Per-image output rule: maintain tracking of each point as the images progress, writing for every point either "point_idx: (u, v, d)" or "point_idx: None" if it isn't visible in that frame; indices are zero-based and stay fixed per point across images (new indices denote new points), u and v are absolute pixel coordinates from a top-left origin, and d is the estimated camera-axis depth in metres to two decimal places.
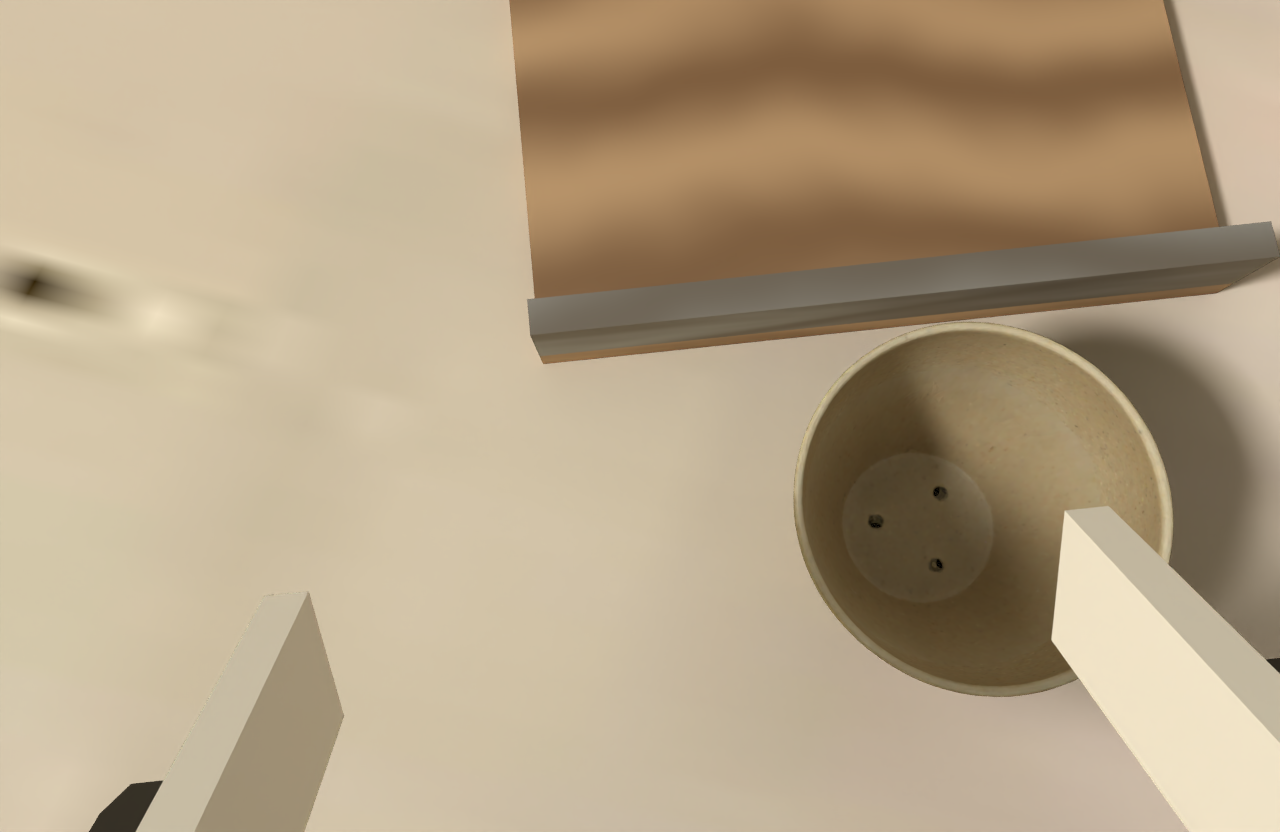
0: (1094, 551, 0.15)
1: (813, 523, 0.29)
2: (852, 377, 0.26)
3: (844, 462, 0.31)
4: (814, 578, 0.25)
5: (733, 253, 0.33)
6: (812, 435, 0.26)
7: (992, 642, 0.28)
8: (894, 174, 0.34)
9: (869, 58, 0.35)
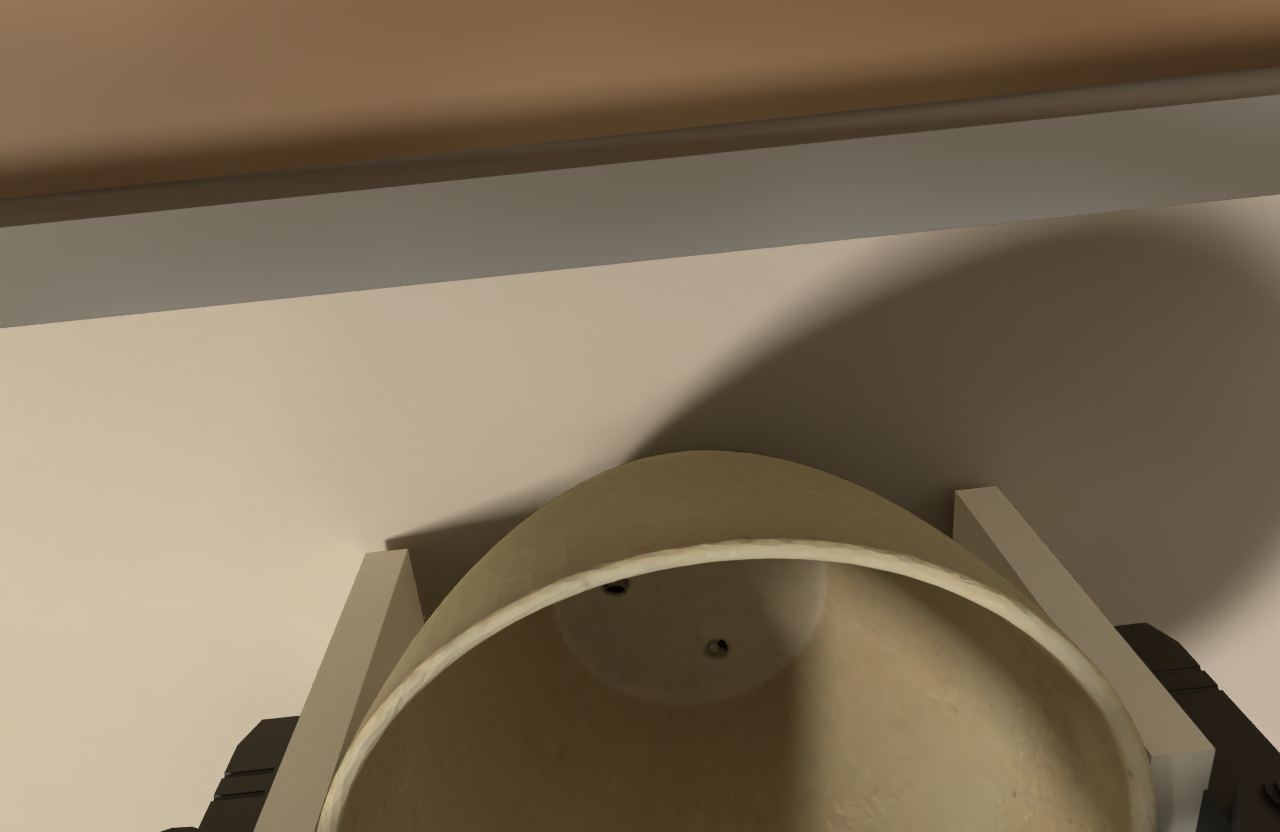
0: (976, 527, 0.16)
1: (453, 712, 0.15)
2: (445, 666, 0.10)
3: None
4: None
5: (273, 32, 0.13)
6: (345, 799, 0.10)
7: None
8: None
9: None
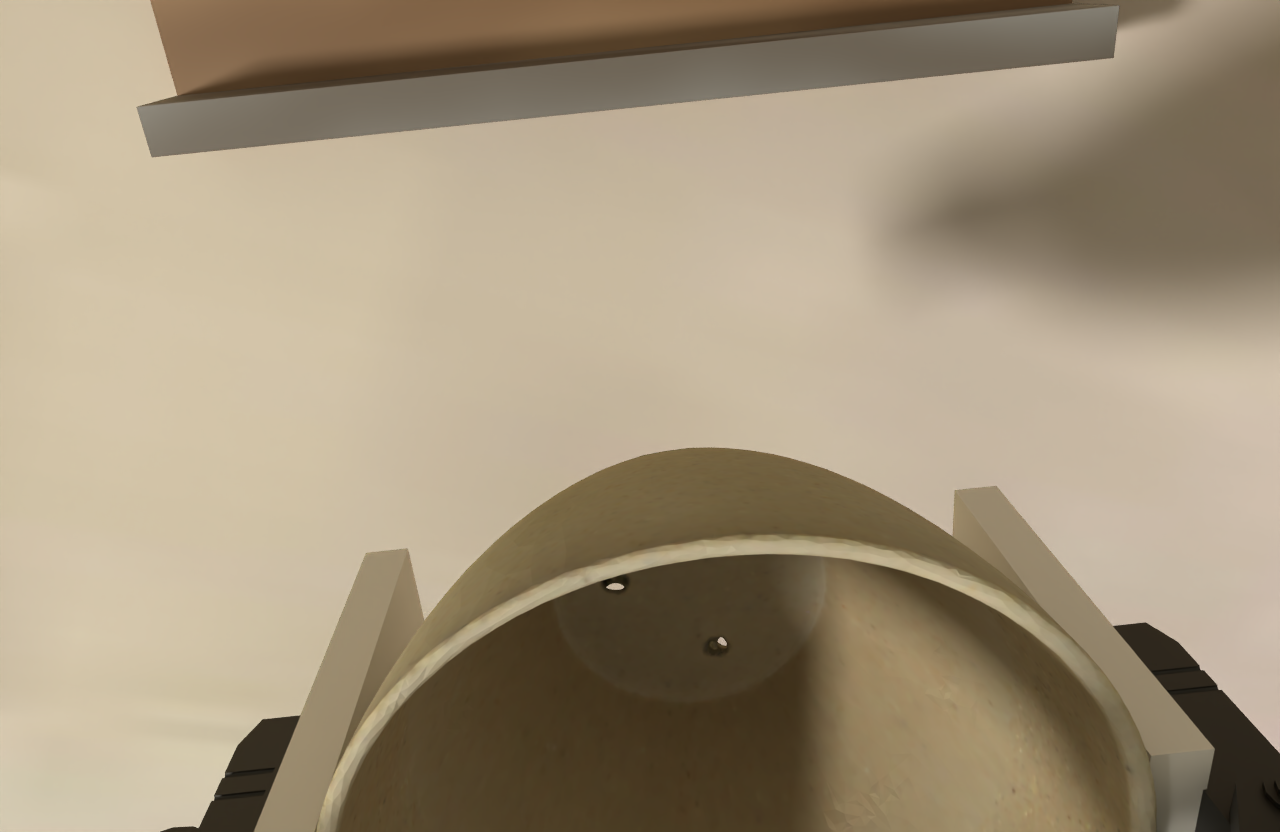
0: (976, 527, 0.16)
1: (453, 709, 0.15)
2: None
3: None
4: None
5: None
6: (345, 794, 0.10)
7: None
8: None
9: None
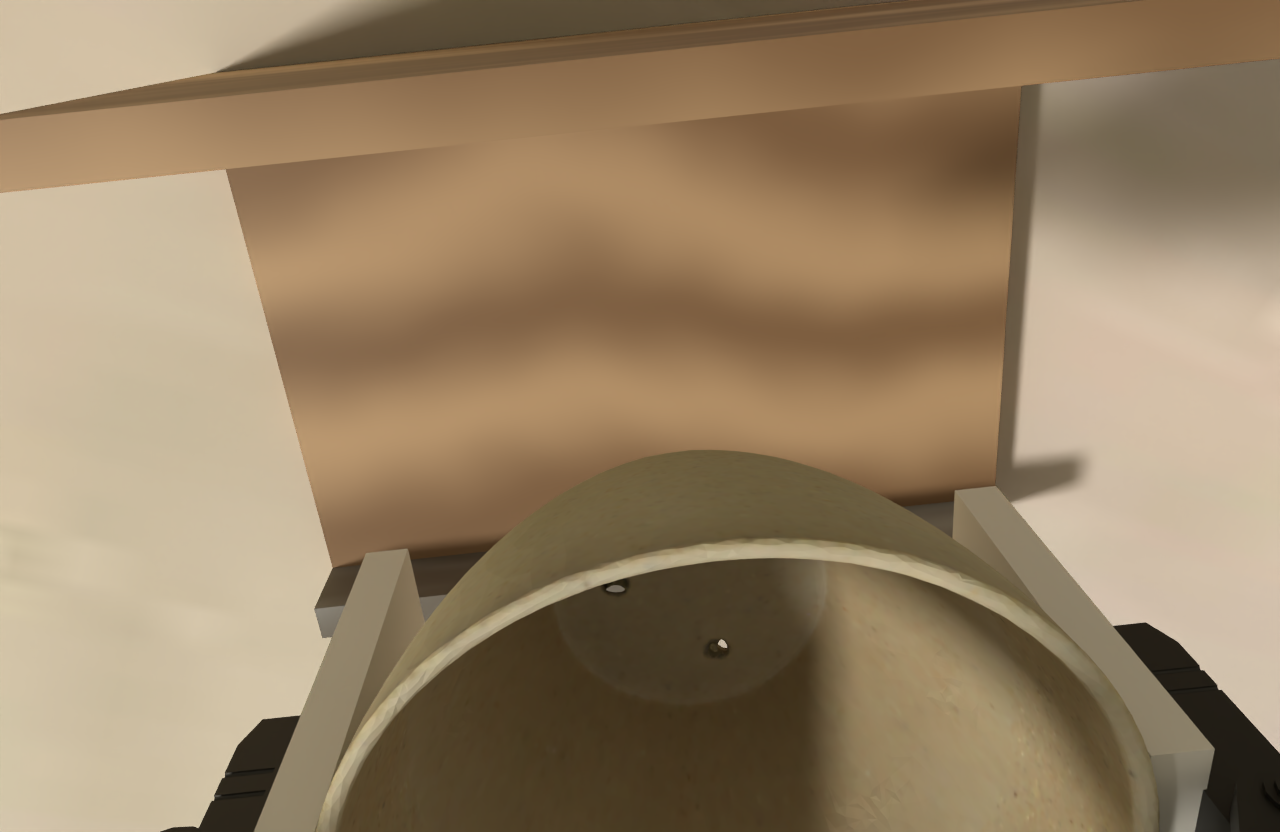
0: (976, 527, 0.16)
1: (453, 712, 0.15)
2: (444, 666, 0.10)
3: None
4: None
5: (520, 503, 0.33)
6: (344, 799, 0.10)
7: None
8: (686, 426, 0.32)
9: (669, 297, 0.31)
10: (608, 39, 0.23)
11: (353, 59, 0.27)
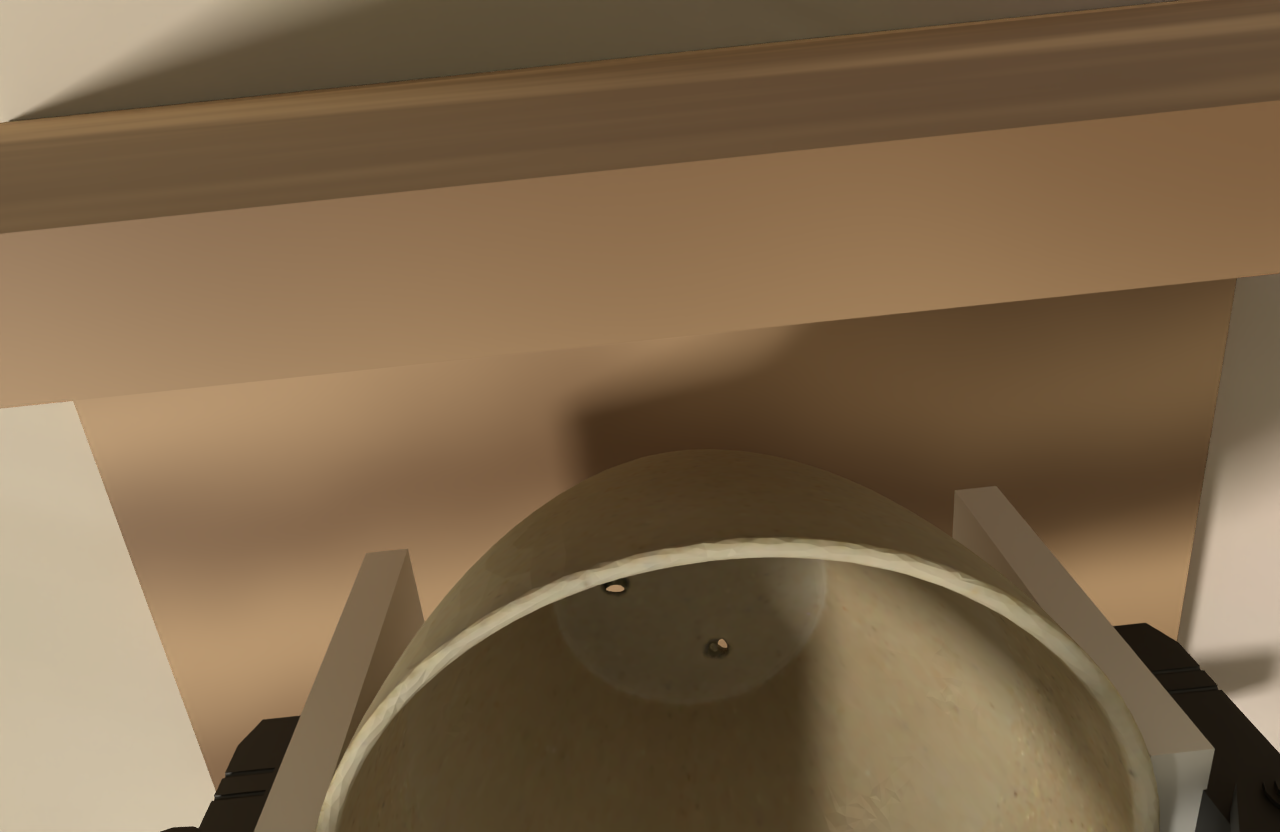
0: (976, 527, 0.16)
1: (453, 712, 0.15)
2: (444, 665, 0.10)
3: None
4: None
5: None
6: (344, 798, 0.10)
7: None
8: None
9: None
10: (625, 81, 0.13)
11: (216, 103, 0.17)
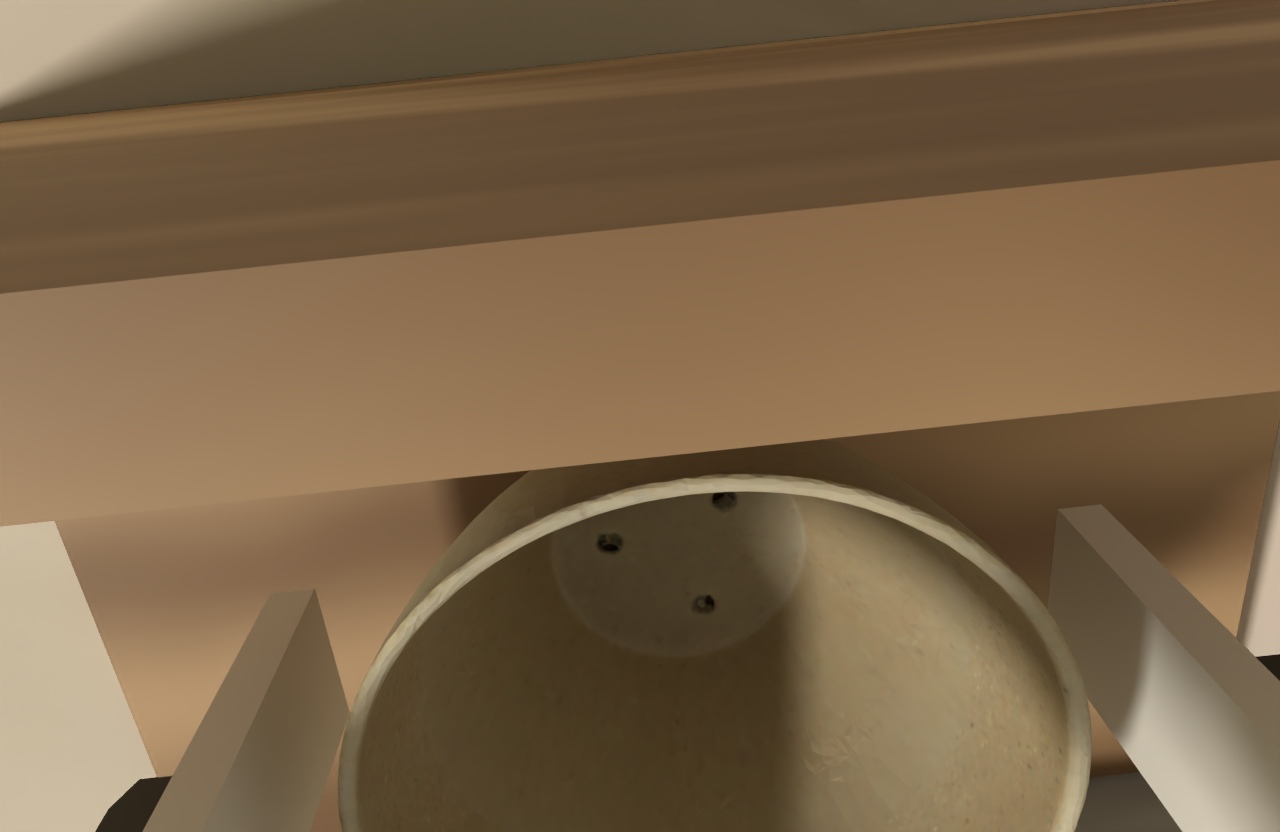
0: (1086, 549, 0.15)
1: (460, 653, 0.16)
2: None
3: None
4: None
5: None
6: (368, 709, 0.12)
7: (750, 808, 0.17)
8: None
9: None
10: (631, 87, 0.11)
11: (172, 108, 0.15)
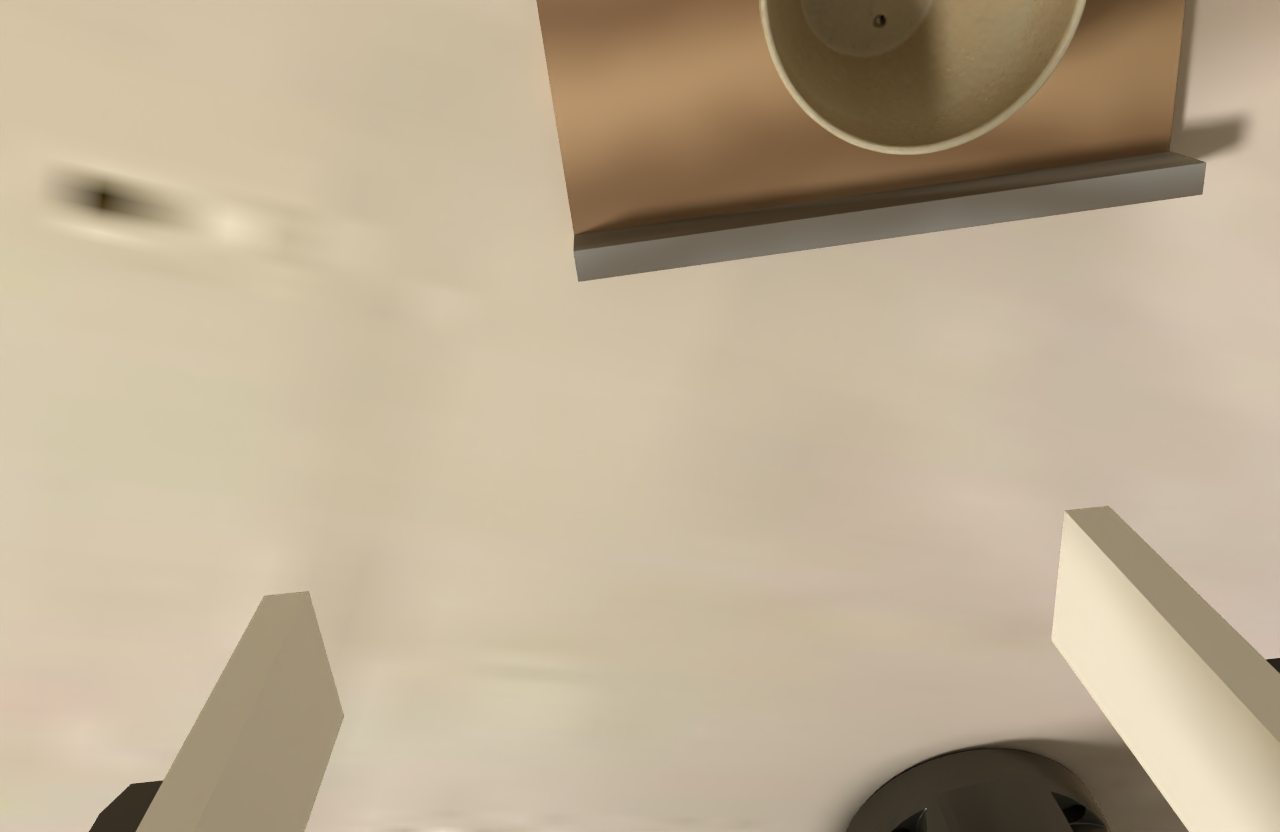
0: (1094, 551, 0.15)
1: None
2: None
3: None
4: (772, 59, 0.29)
5: (745, 165, 0.37)
6: None
7: (915, 99, 0.33)
8: None
9: None
10: None
11: None
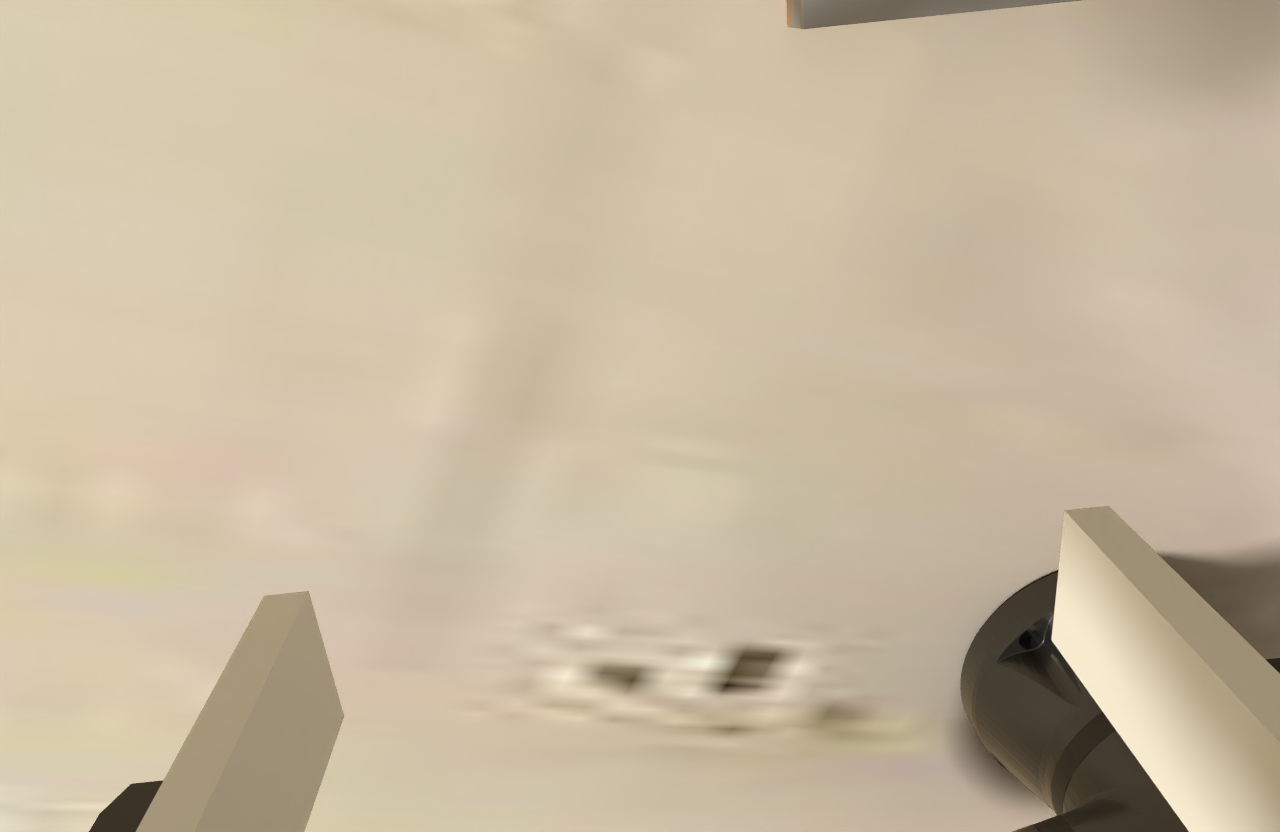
0: (1094, 551, 0.15)
1: None
2: None
3: None
4: None
5: None
6: None
7: None
8: None
9: None
10: None
11: None
